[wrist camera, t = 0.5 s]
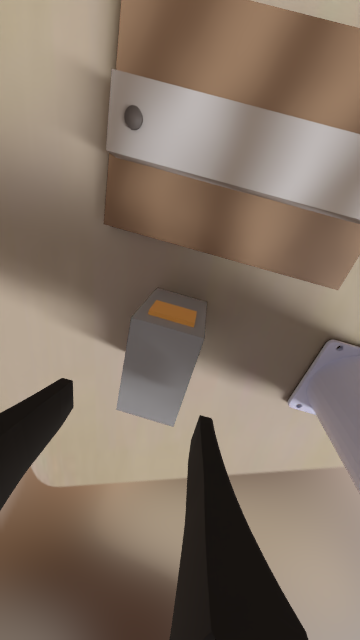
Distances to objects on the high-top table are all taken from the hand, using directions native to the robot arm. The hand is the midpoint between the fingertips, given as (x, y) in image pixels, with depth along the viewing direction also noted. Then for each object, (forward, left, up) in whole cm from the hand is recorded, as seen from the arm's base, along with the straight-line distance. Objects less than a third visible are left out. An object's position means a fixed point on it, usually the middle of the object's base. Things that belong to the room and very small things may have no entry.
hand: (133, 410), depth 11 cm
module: (0, 0, -9) cm, 9 cm away
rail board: (-2, -14, -9) cm, 17 cm away
